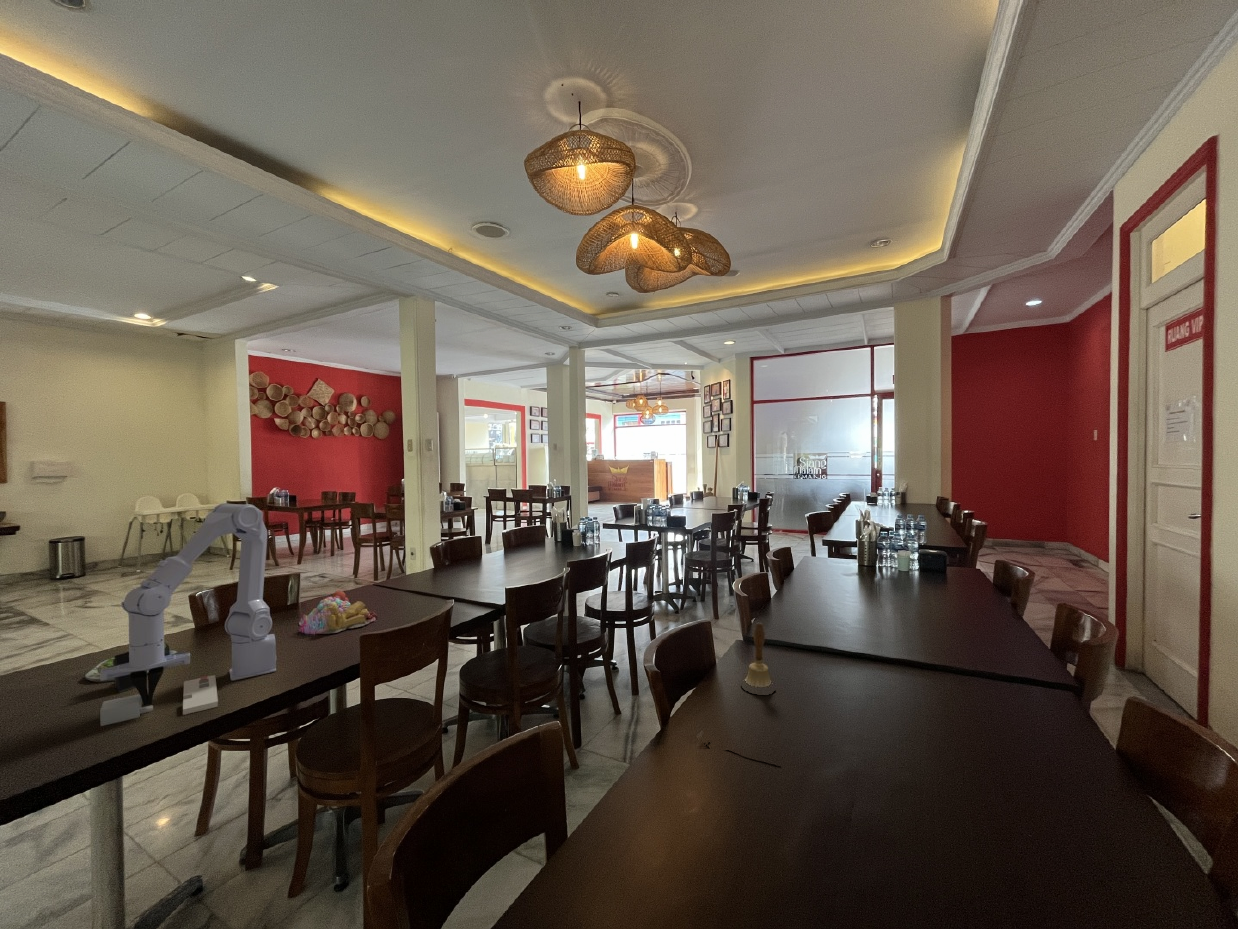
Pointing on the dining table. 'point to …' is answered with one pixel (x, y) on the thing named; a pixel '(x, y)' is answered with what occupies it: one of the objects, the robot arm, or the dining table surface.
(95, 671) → the salad plate
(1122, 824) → the dining table surface
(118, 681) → the speaker
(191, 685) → the power strip
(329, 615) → the candy landscape model
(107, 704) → the charger
